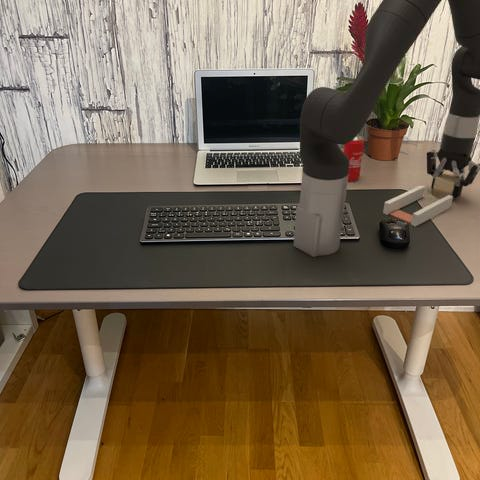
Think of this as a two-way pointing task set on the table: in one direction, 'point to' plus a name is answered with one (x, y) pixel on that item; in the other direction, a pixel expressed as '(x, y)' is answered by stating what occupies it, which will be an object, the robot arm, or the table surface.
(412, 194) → the channel
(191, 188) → the table surface
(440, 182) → the maple block
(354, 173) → the beverage can
